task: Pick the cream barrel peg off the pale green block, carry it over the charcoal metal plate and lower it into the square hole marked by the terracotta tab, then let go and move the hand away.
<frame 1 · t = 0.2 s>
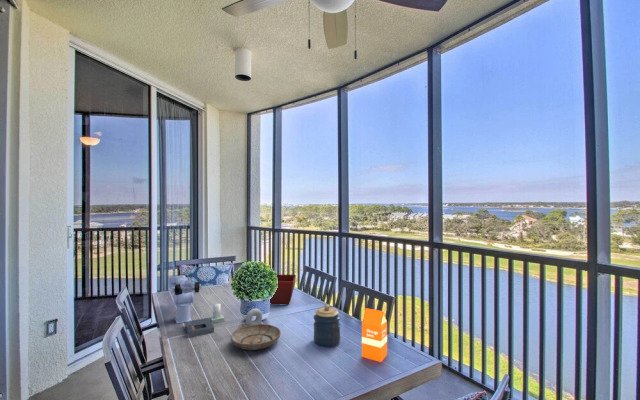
hand: (189, 291, 156), 21 cm above the table, tool horizontal, fingers open, 7 cm apart
barrel peg: (216, 317, 171), point 2 cm above the table, touching pale green block
plant pot: (280, 302, 204), on the table
orange juice: (374, 356, 131), on the table
pale green block: (216, 320, 171), on the table
canister: (327, 342, 144), on the table
brown shallow round bowl: (256, 343, 143), on the table
grey stone ring: (253, 327, 162), on the table
hole plate: (199, 329, 159), on the table
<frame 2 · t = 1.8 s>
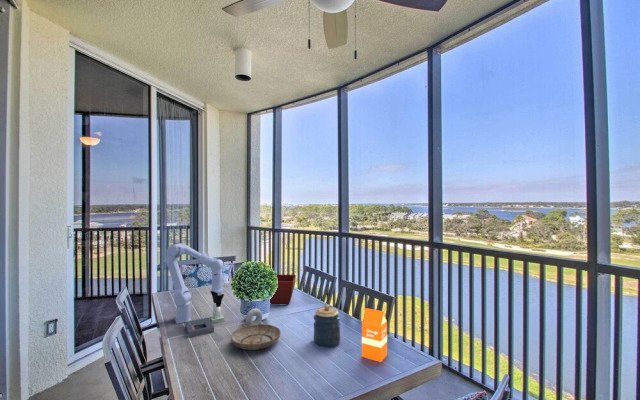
hand: (217, 304, 171), 9 cm above the table, tool pointing down, fingers open, 7 cm apart
nothing on the table moved.
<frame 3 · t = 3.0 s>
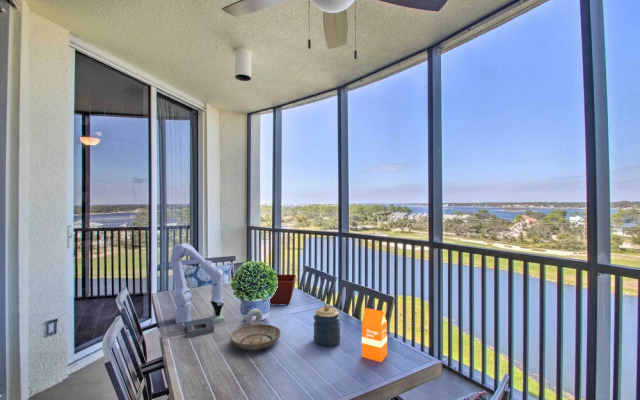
hand: (216, 314, 171), 3 cm above the table, tool pointing down, fingers closed on barrel peg, 4 cm apart
barrel peg: (216, 317, 171), point 2 cm above the table, touching gripper, pale green block
everything else where it was.
when the fingers open (3 cm above the table, at t = 8.0 s): barrel peg drops 2 cm, resting in hole plate.
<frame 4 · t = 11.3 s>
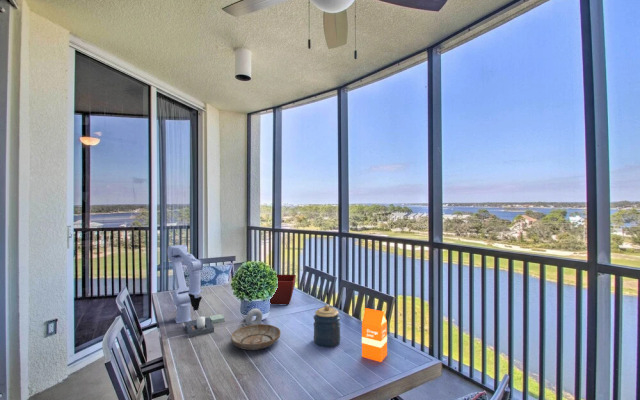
hand: (194, 308, 161), 10 cm above the table, tool pointing down, fingers open, 7 cm apart
barrel peg: (200, 331, 157), resting in hole plate
everything else where it was.
at the end: barrel peg 0.2 cm from the target spot on the hole plate, point 0.0 cm above the hole plate's base; barrel peg tilted 1°; the gripper is holding nothing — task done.
